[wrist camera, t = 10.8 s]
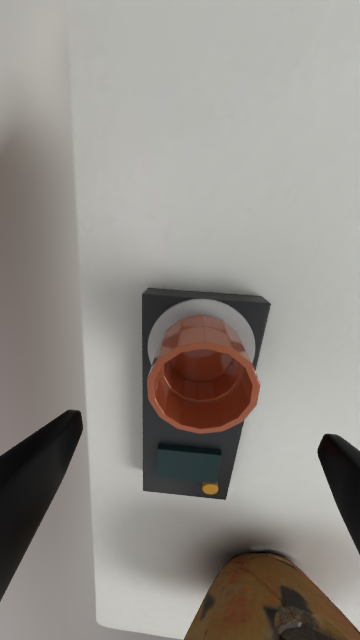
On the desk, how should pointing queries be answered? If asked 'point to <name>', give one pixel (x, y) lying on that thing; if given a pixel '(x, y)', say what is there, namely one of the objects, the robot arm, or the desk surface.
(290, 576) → the bowl
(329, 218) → the desk surface
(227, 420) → the terracotta cup
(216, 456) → the scale
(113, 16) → the desk surface
